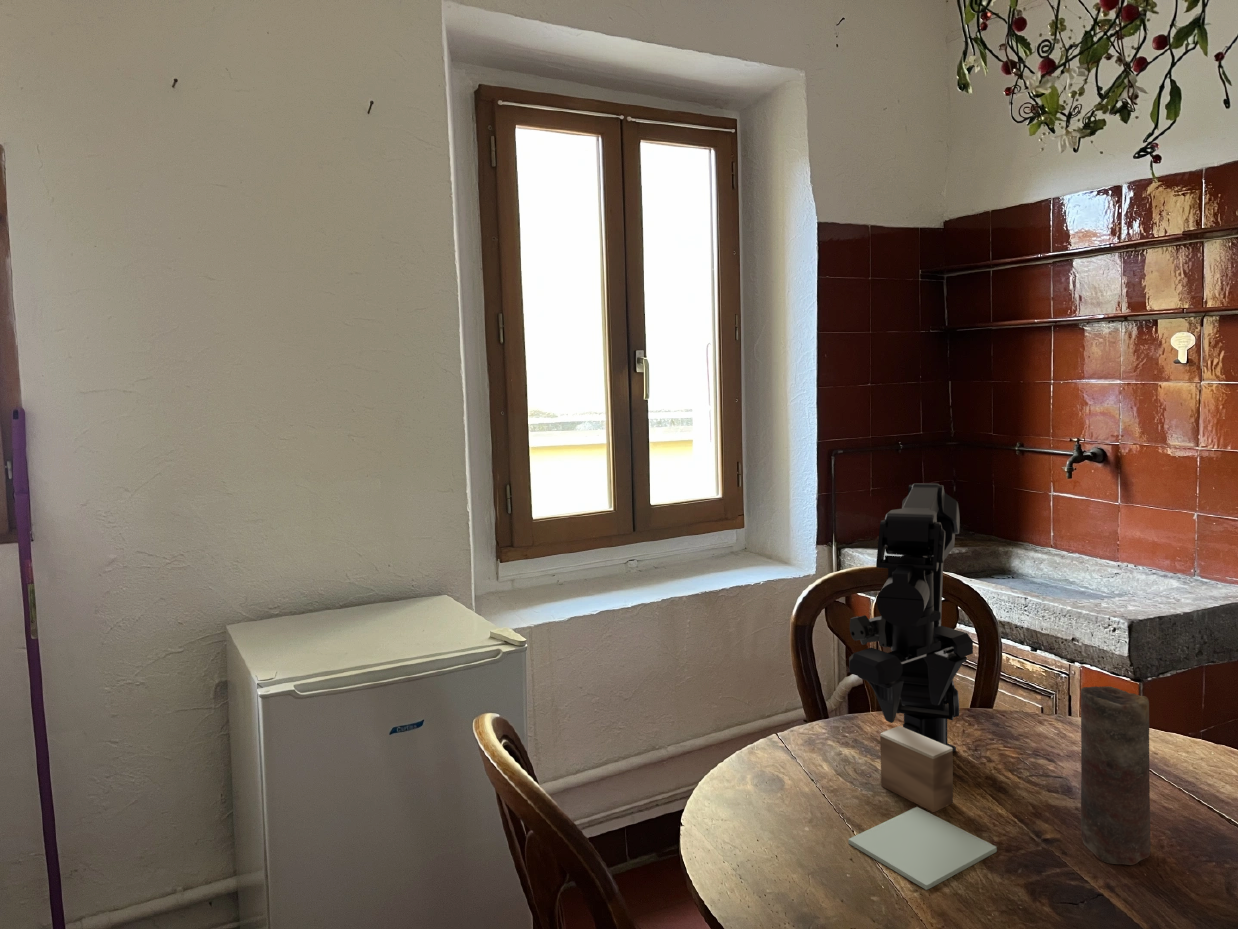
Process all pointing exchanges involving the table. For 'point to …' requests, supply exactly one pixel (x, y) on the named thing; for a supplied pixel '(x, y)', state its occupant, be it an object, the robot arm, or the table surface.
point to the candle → (1115, 774)
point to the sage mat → (922, 847)
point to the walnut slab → (917, 768)
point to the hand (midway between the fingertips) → (912, 713)
